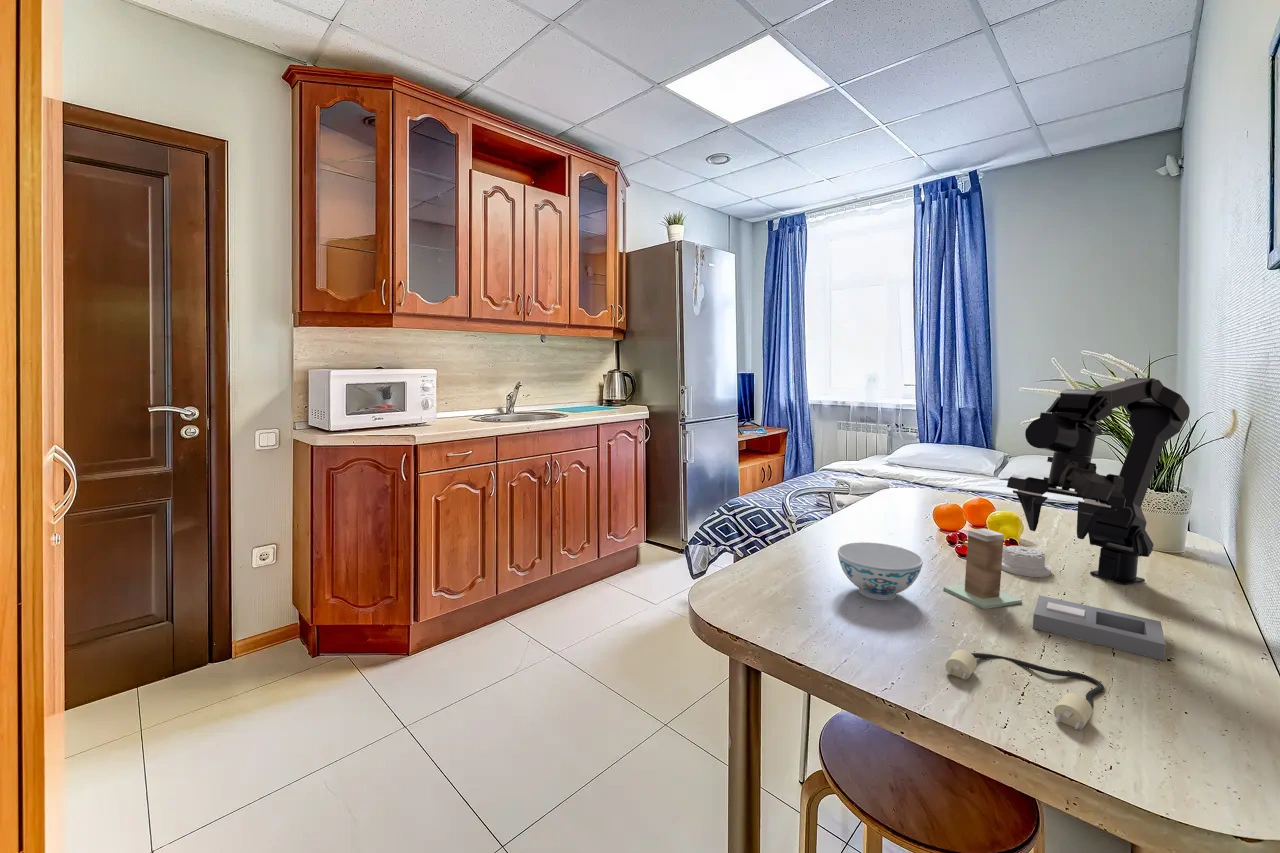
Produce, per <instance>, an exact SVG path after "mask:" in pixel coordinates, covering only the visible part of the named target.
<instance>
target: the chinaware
mask: <svg viewBox="0 0 1280 853" xmlns="http://www.w3.org/2000/svg"><path fill="white" fill-rule="evenodd" d="M837 558H838V560H839V565H840V567H841V569H842V571H843V573H844V575H845V576H846V578H847V579H848V580H849V581H850V582H851V583H852V584H853V585H854V586H855V587H857V588H858V592H859V594H861V595H862V596H864V597H867V598H868V599H869V598H870V599H873V600H878V601H891V600H894V599H895V598H897V595H898V594H900V593H902V592H904V591H905V590H908V589H909V588H910V587H911V586H912V585H913V584H914V583H915V582H916V580H917V578H918V577H919V575H920V572H921V570H922V568H923V564H924V560H923V557H921V556H920V555H919V554H918V553H916V552H914V551H912V550H909V549H907V548H904V547H899V546H897V545H891V544H887V543H886V544H885V543H879V542H865V541H863V542H862V541H860V542H850V543H845V544H843V545H841V546H839V547H838V549H837Z"/></svg>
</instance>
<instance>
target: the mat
mask: <svg viewBox="0 0 1280 853" xmlns="http://www.w3.org/2000/svg"><path fill="white" fill-rule="evenodd" d="M942 590H943V591H945V592H947V593H949V594H952V596H956V597H957V598H960V599H961V600H964V601H965V602H968V603H970V604H973V605H974V606H977V607H979V608H980V609H984V610H987V609H992V608H993V609H994V608H1000V607H1005V606H1011V605H1019V604H1022V603H1023V599H1021V598H1019V597H1015V596H1013V595H1011V594H1010V593H1006V592H1004V591H1002V590H1000V595H999V597H992V598H985V599H982V598H980V597H977V596H975V595H973V594H971V593H969V592H967V591H965V583H962V584H957V585H956V584H955V585H949V586H943V589H942Z"/></svg>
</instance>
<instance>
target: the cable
mask: <svg viewBox="0 0 1280 853" xmlns="http://www.w3.org/2000/svg"><path fill="white" fill-rule="evenodd" d="M977 659H985V660H987V659H988V660H990V659H991V660H992V659H996V660H997V659H999V660H1006V661H1009V662H1012V663H1014V664H1016V665H1018V666H1021V667H1024V668H1027V669H1031V670H1033V671H1038V672H1040V673H1045V674H1048V675H1052V676H1059V677H1067V678H1068V677H1069V678H1076V679H1081V680H1084V681H1087V682H1089V683H1092V684H1093V685H1095V686H1096V687H1094V688H1092V689H1090V690H1089V691H1088V692H1086V694H1085V697H1083V696H1082V695H1080V694H1077V693H1074V692H1068V693H1065V694H1064V695H1062V697H1061V699H1060V700H1059V701H1058V702H1057V704H1056V705H1055V707H1054V709H1053V715H1054V717H1055V719H1056V722H1057V723H1059V722H1061V723H1063V724H1066V725H1069V726H1071V727H1073V728H1074V730H1081V731H1082V729H1083V728H1084V727H1085V726H1086V725H1087V723H1088V721H1089V719H1090V718H1091V717H1092V715H1093V712H1094V711H1093V708H1094V704H1095V703H1094V697H1096V696H1097V695H1099V694H1101V693H1102V692H1104V690H1105V686H1104V684H1103V683H1102V682H1101V681H1100V680H1098V679H1096V678H1093V677H1091V676H1090V675H1087V674H1084V673H1081V672H1077V671H1069V670H1068V671H1067V670H1061V669H1060V670H1059V669H1058V670H1057V669H1053V668H1048V667H1044V666H1042V665H1038V664H1035V663H1031V662H1027V661H1023V660H1020V659H1017V658H1011V657H1007V656H1002V655H997V654H990V653H984V652H983V653H982V652H969V650H967V649H963V648H960V649H959V648H958V649H956V650H954V651H953V653H952V654H951V655H950V656H949V659H947V661H946V662H945V669H946V672H947V675H951V676H954V677H958V678H960V679H962V680H966V681H967V680H968V679H969V678H970V677H971V675H972V673H973V672H974V670H975V669H976V667H977Z"/></svg>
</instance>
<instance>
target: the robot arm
mask: <svg viewBox="0 0 1280 853" xmlns="http://www.w3.org/2000/svg"><path fill="white" fill-rule="evenodd" d="M1120 407H1123V408H1124V409H1125V411H1126V412H1127V413H1128V414H1129V418H1128V422H1129V424H1130V427H1131V431H1132V433H1133V436H1132V440H1131V441H1130V445H1129V447H1128V449H1127V452H1126V456H1125V459H1124V461H1123V463H1122V465H1121V466H1122V467H1121V468H1120V471H1119V474H1112V473H1108V474H1106V475H1102V474H1099V473H1097V464H1096V463H1094V462H1092V457H1093V452H1094V447H1095V443H1096V438H1097V436H1102V435H1103V431H1102V429H1101V428H1100V427H1099V426H1098V424H1097V422H1101V421H1102V420H1104V419H1106V418H1108V417H1110V416H1112V414H1113V410H1114V409H1116V408H1117V409H1118V408H1120ZM1190 412H1191V410H1190V406H1189V404H1188V403H1187V401H1186V400H1185V399H1184V397H1183V396H1182V395H1181V394H1180V393H1177V392H1176V391H1174V390H1172V389H1170V388H1168V387H1166V386H1164V384H1163V383H1162V381H1161V380H1159V379H1156V378H1154V377H1151V378H1150V377H1149V378H1148V377H1146V378H1145V377H1129V378H1128V379H1127V378H1126V379H1125V380H1123V381H1120V382H1116V383H1112V384H1109V385H1105V386H1102V387H1098V388H1095V389H1088V388H1087V389H1082V388H1081V389H1080V388H1079V389H1078V388H1077V389H1073V388H1071V389H1068V388H1067V389H1064V390H1062V391H1061V392H1060V393H1059V395H1058V396H1057V397H1056V398H1055V400H1054V401H1053V402H1052V404H1051V405H1050V407H1049V408H1048V409H1047V410H1046V412H1045V411H1041V412H1040V414H1039V418H1036V419H1034V420H1032V421H1031V422H1030V423H1029V425H1028V426H1027V427H1026V428H1025V439H1026V442H1027V443H1028V444H1029V445H1031V447H1033V448H1035V449H1039V450H1040V449H1041V450H1046V451H1051V452H1053V455H1052V456H1047V461H1046V462H1047V463H1051V464H1050V466H1051V467H1050V469H1049V475H1048V477H1045V476H1044V477H1043V479H1042V478H1038V477H1033V476H1025V475H1021V474H1015V473H1014V474H1012V475H1011V476H1010V477H1009V478H1008V480H1007V485H1006V488H1007V489H1013V490H1012V493H1013V494H1015V495H1016V496H1017V498H1018V499H1019V502H1020V505H1021V507H1022V510H1023V513H1024V515H1025V519H1026V522H1027V526H1028V528H1029V530H1030V531H1031V532H1036V531H1037V528H1038V524H1039V519H1040V515H1041V510H1042V505H1043V504H1044V503H1045V502H1046V501H1047V500H1048V497H1047V496H1043V495H1045V493H1049V494H1055V495H1056V494H1057V495H1060V496H1061V495H1062V496H1069V497H1073V498H1081V499H1082V500H1083V501H1079V500H1078V501H1077V515H1076V516H1077V517H1076V537H1077V539H1080V540H1084V539H1085V538H1086V536H1087V535H1088V539H1089V545H1091V546H1097V547H1100V550H1099V552H1100V553H1099V558H1098V567H1097V568H1098V569H1097V570H1091V571H1090V572H1089V574H1090V575H1092V576H1096V577H1098V578H1101V579H1104V580H1107V581H1111V582H1114V583H1116V584H1119V585H1124V586H1127V585H1132V584H1140V583H1145V582H1146V579H1144V578H1143V577H1139V576H1137V574H1138V564H1139V563H1138V562H1139V557H1143V558H1144V557H1146V558H1149V557H1150V555H1152V552H1153V548H1154V542H1153V541H1152V539H1151V538H1150V536H1149V534H1148V532H1147V530H1146V527H1147V519H1146V516H1145V515H1144V511H1143V509H1142V505H1143V503H1144V500H1145V497H1146V494H1147V491H1148V490H1149V486H1150V483H1151V481H1152V478H1153V475H1154V472H1155V470H1156V467H1157V464H1158V462H1159V458H1160V455H1161V453H1162V450H1163V447H1164V445H1165V443H1166V442H1167V441H1168V440H1170V439H1172V438H1173V437H1175V436H1176V435H1178V434H1179V433H1180V432H1181V430H1182V428H1183V426H1184V425H1185V424H1184V423H1185V422H1186V421H1187V420H1188V418H1189V417H1190Z"/></svg>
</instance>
